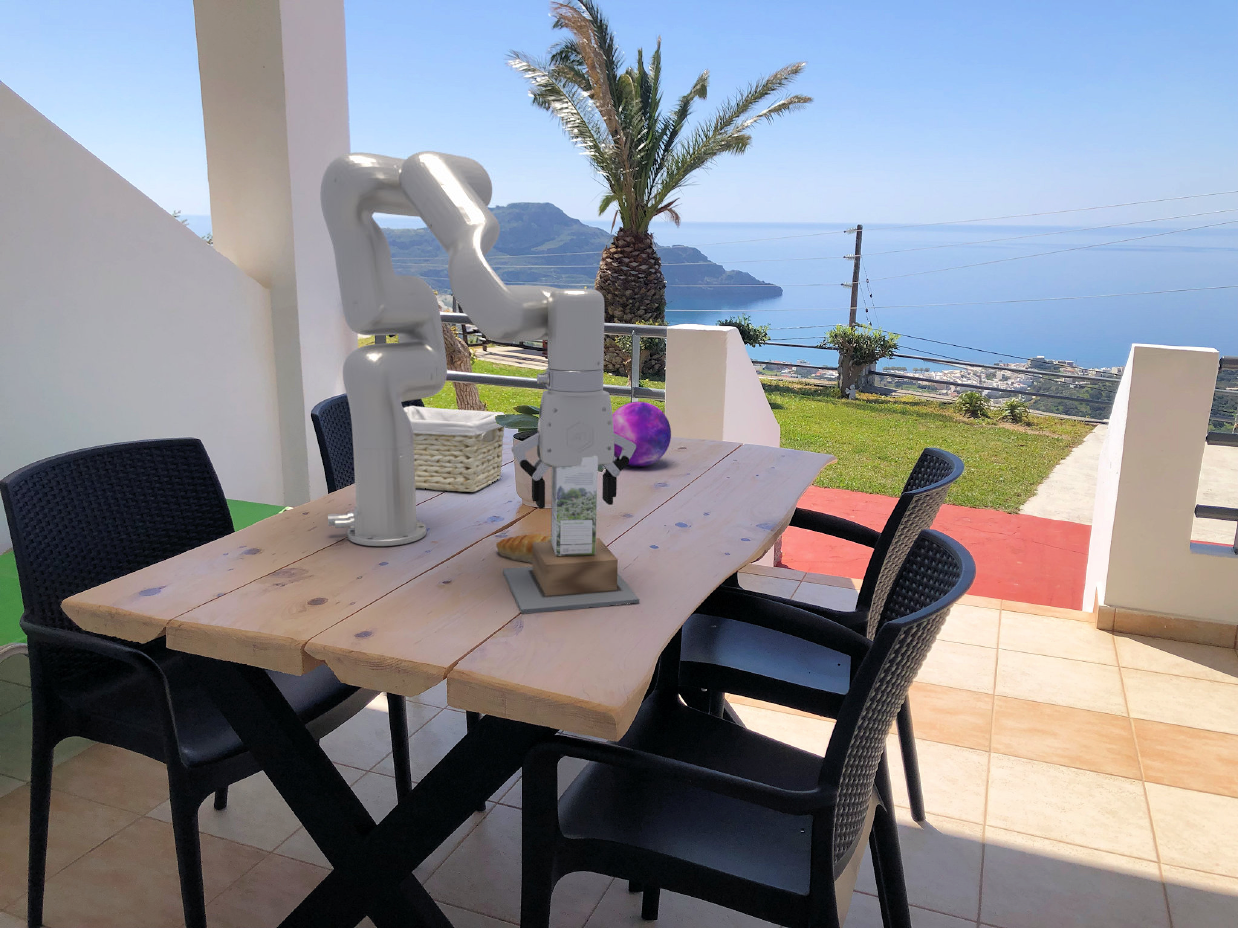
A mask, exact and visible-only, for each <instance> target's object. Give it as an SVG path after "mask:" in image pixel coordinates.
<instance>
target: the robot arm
mask: <svg viewBox="0 0 1238 928" xmlns="http://www.w3.org/2000/svg"><path fill="white" fill-rule="evenodd" d="M320 184H321V185H320V206H321V211H322V215H323V219H324V222H325V226H326V228H327V231H328V234H329V237H330V241H331V245H332V248H333V253H334V260H335V267H336V274H337V280H338V286H339V293H340V299H341V305H342V310H343V315H344V320H345V322H346V325H347V327H348V328H349V329H350V330H351V331H352V332H354V333H356V334H358V335H362V336H389V335H390V336H391V335H392V336H393V335H397V339H398V342H389V343H388V342H387V343H385V342H384V343H374V344H368V345H363V346H360V347H358V348H356V349H355V350H353V351H352V352H351V353H350V354H348V356H347V357H346V359H345V361H344V363H343V368H342V379H343V386H344V388H345V389H344V390H345V394H346V397H347V401H348V405H349V412H350V419H351V431H352V433H351V434H352V447H353V450H352V451H353V467H354V470H353V471H354V485H355V487H354V488H355V506H354V510H353V511H350V510H349V511H347V513H342V514H341V513H329V514H327V521H328V522H327V524H328V527H329V526H331V527H335V529H344V528H348V530H347V539H348V540H349V541H350V542H352V543H355V544H357V545H362V546H369V547H389V546H390V547H392V546H399V545H405V544H409V543H410V544H411V543H414V542H416V541H418V540H420V539H422V538H424V537H425V536H426V534H427V526H426V525H425V524H424V522H421V521H419V520H417V499H416V497H417V496H416V494H417V493H416V488H415V462H414V436H413V428H412V424H411V422H410V419H409V417H408V416H407V414H406V412H405V410H404V409H403V408H404V406H403V405H402V402H403V403H404V402H407V401H414V400H421V399H422V400H423V399H427V398H432V397H434V396H435V395H437V394H439V393H440V392H441V391H442V390H443V388H444V386H445V384H446V382H447V378H448V377H447V375H448V363H447V355H446V346H445V338H444V332H443V325H442V317H441V312H440V306H439V302H438V298H437V296H436V294H435V292H434V290H433V288H432V287H431V286H430V284H428V283H427V282H426V281H425V280H424V279H422V278H420V277H418V276H413V275H410V274H409V275H408V274H406V275H405V274H399V275H398V274H396V273H395V270H394V266H393V265H394V264H393V261H392V252H391V247H390V243H389V241H388V239H387V236H386V235H385V233H384V232H383V229H382V228H381V227H380V225H379V224H378V223H377V221H376V220H375V219H374V217H373V215H374V214H385V215H395V216H405V217H406V216H407V217H414V218H415V217H417V218H420V219H421V221H422V222H423V223H424V224H425V226H426V227H427V228H428V229H429V231H430V232H431V233H432V235H433V236H434V237H435V239H436V240H437V241H438V243H439V244H440V246H442V248H443V249H444V251H445V252H446V254H447V255H448V261H447V273H448V280H449V285H450V289H451V293H452V295H453V297H454V299H455V301H456V302H457V304H458V305H459V307H460V308H461V309H462V311H463V312H464V314H465V315H466V317H468V319H469V320H470V321H471V322H472V324H473V325H474V327H476V329H477V330H478V331H479V332H480V333H481V334H482V335H484V336H485V337H486V338H488V339H489V340H492V341H494V342H497V343H503V344H506V343H509V344H510V343H520V342H538V341H547V367H546V370H545V371H544V372H542V373H537V374H536V383H537V385H539V384H540V385H544V386H546V388H547V390H543V392H542V395H541V401H540V405H539V411H538V412H539V413H538V423H537V433H535V434H533V435H531V436H529V437H528V438H526V439H524V440H521V441H519V443H517V444H514V445H513V446H512V447H511V452H512V454H513V455H514V458H515V460H516V461H517V463H518V465H519V466H520V468H521V469H522V470H523V471H524V472H525V473H526V474H527V475H529V477H531V500H532V502H535V504H536V505H537V508H538V509H539V510H541V509H542V510H543V509H544V508H545V507H546V480H544V478H543V477H544V475H545V474H546V472H547V471H548V470H549V469H550V468H552V467H554V468H559V467H569V466H577V465H581V462H582V458H583V457H592V456H597V457H598V467H600V466H602V467H603V468H604V469H605V472H603V474H602V497H601V498H602V500H603V502H605V504H607V505H609V506H610V505H611V506H612V505H613V504H614V498H617V490H618V489H617V487H618V486H617V485H618V484H617V483H618V480H617V477H619V476H620V474H621V472H622V471H623V470H624V469H625V467H626V466H627V464H628V463H629V460H630V458H631V457H632V455H633V453H634V451H635V449H636V444H634V443H633V442H631V441H629V440H627V439H625V438H623V437H621V436H619V435H617V434H615V433H614V430H613V416H612V415H613V409H612V402H611V395H610V392H608V391H606V390H604V365H605V364H604V355H605V353H604V352H605V351H604V350H605V349H604V348H605V345H604V344H605V299H604V295H603V294H602V293H601V292H600V291H599V290H597V289H591V288H558V287H552V286H548V285H547V286H546V285H529V284H528V285H527V284H523V285H522V284H513V285H511V284H508V285H507V284H505V282H503V280H502V279H501V278H500V276H498V275H497V273H496V272H495V270H494V269H493V268H492V266H491V265H490V264H489V262H488V261H487V260H486V259H487V258H486V257H485V256H486V255H487V254H488V253H490V252H491V250H492V249H493V247H494V246H495V245H496V243H497V241H498V240H499V237H500V232H501V231H500V230H501V228H500V224H499V223H500V222H499V220H498V218H496V216H495V214H493V213H492V212H491V210H490V209H489V208H488V207H489V205H490V203H491V201H492V197H493V185H492V179H491V178H490V175H489V173H488V171H487V170H486V169H485V168H484V166H483V165H482V164H481V163H480V162H478V161H477V160H475V159H473V158H470V157H466V156H461V155H456V154H451V153H450V154H449V153H446V152H440V151H434V150H433V151H432V150H425V151H424V150H423V151H419V152H415V153H414V154H413V153H412V154H411V155H410V156H408V157H407V158H400V157H393V156H388V155H384V154H383V155H382V154H376V153H371V152H348V153H344V154H341V155H339V156H337V157H335V158H334V159H333V160H332V161H331V162H330V163H329V164H328V166H327V167H326V169H325V171H324V173H323V177H322V180H321V183H320ZM614 443H615V444H617V445H619V446H621V447H622V448H623V450H622V453H621V455H619V456H618V457H617V458H615V456H614ZM535 447H536V454H537V457H538V459H536V461H535V462H534V464H532V463H531V462H530V461H528V459H527V456H526V452H528V451H530V450H531V449H534V448H535ZM614 458H615V460H614Z"/></svg>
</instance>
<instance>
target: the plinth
mask: <svg viewBox="0 0 1238 928" xmlns="http://www.w3.org/2000/svg"><path fill="white" fill-rule="evenodd" d="M618 560H619V559H618V558H617V557H616V555H615V554H614V553H613V552H612V551H611V550H610V549H609V548H608V546H606V544H605V543H604V542H603V540H601V539H600V537H596V554H595V555H578V556H556V554H555V552H554V549H553V546H552V543H551V541H547V542H532V563H531V564H532V566H531V567H532V571H533V573H532V571H531V570H530V571H528V572H531V573H532V574H533V575H532V574H531V573H530V575H531V576H532V577H533V576H534V577H533V578H532V579H533V581H534V579H535V581H536V582H535V581H534V583H535V585H536V587H538V588H537V589H538V591H540V594H542V593H544V594H545V595H546V596H545V595H544V594H542V595H543V597H542V598H544V597H549V596H550V597H552V595H555V596H556V595H562V596H565V595H566V594H568V596H570V595H571V594H572V595H574V593H577V594H576V595H582V594H591V593H592V592H593V593H598V592H599V593H604V592H617V591H616V590H617V589H618V591H621V589H620V587H619V586H618V585H617V572H618V566H619V565H618ZM537 581H538V582H539V583H538V582H537ZM538 584H539V585H538ZM540 587H541V588H540ZM539 589H541V590H539ZM619 589H620V590H619ZM542 590H543V591H544V592H543V591H542ZM614 590H615V591H614ZM586 592H588V593H586ZM578 593H579V594H578ZM580 593H581V594H580ZM542 595H541V596H542ZM555 596H554V597H555ZM556 597H558V596H556Z"/></svg>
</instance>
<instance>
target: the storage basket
mask: <svg viewBox="0 0 1238 928" xmlns="http://www.w3.org/2000/svg"><path fill="white" fill-rule="evenodd" d="M403 409H404V410H405V412H406V414H407V416H408V417H409V419H410V422H411V424H412V428H413V436H414V462H415V489H423V490H424V489H425V488H426V489H428V490H433V491H451V492H464V493H465V492H469V493H470V492H471V493H473V492H478V491H480V490H481V489H484V488H485V487H487V486H490V485H492V482H493V483H495V482H496V481H498V480H500V478H501V475H502V465H503V463H502V462H503V451H504V450H503V449H504V447H503V445H504V441H503V440H504V439H503V438H504V436H505V426H504V427H502V426H500V425H499V424H497V423H496V420H495V416H497V415H505V416H506V414H505V413H504V412H502V411H497V412H496V411H488V410H486V411H485V410H473V409H472V410H469V409H451V408H439V407H438V408H437V407H425V406H424V407H423V406H415V405H409V406H405V407H403ZM497 479H498V480H497ZM494 481H495V482H494ZM489 484H490V485H489Z"/></svg>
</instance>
